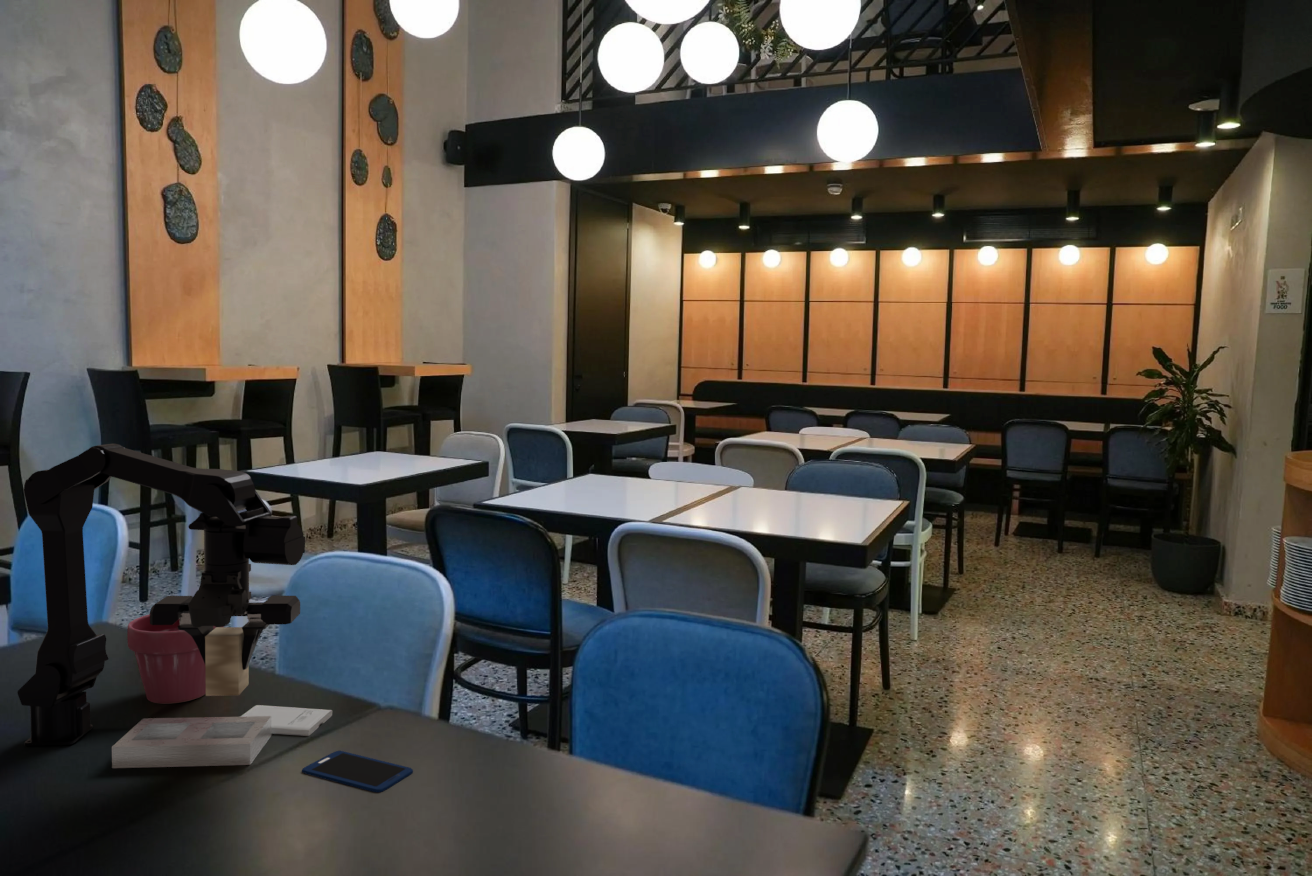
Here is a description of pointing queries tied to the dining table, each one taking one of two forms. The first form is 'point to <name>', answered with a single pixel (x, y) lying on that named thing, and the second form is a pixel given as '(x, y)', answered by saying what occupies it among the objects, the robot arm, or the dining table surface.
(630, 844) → the dining table surface
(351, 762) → the cell phone
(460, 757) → the dining table surface
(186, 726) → the double square frame
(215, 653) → the maple peg
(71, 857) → the dining table surface
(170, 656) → the plant pot
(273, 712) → the external hard drive
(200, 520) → the robot arm
